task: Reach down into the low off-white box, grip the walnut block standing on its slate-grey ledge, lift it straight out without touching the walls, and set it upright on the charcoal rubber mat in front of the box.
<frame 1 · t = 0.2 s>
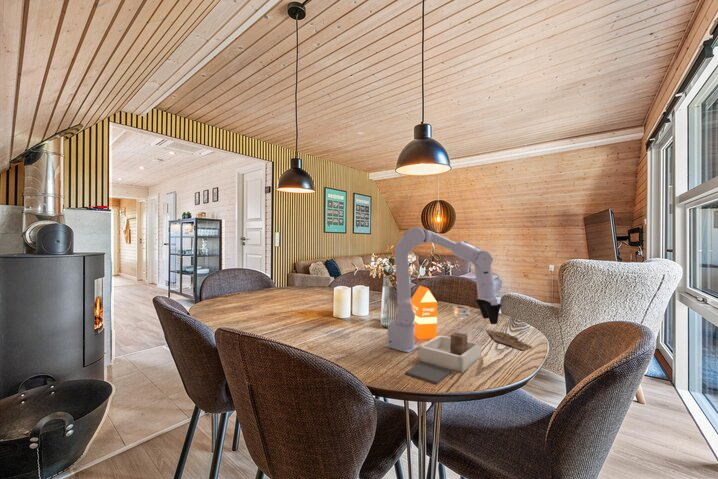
hand: (490, 320, 114), 11 cm above the table, tool pointing down, fingers open, 7 cm apart
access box: (449, 358, 106), on the table
place mat: (428, 373, 94), on the table
wineglass: (461, 336, 131), on the table
walnut block: (458, 353, 104), point 2 cm above the table, touching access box
wooden fragment: (504, 340, 127), on the table
orange juice: (423, 335, 131), on the table
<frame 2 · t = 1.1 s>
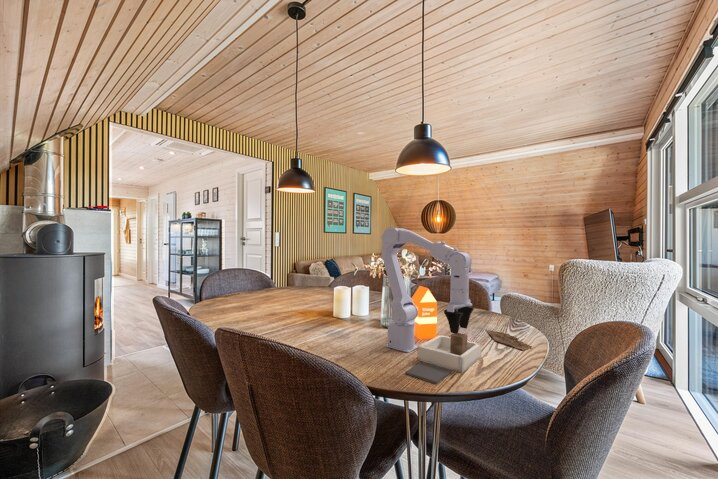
hand: (459, 330, 104), 10 cm above the table, tool pointing down, fingers open, 7 cm apart
nothing on the table moved.
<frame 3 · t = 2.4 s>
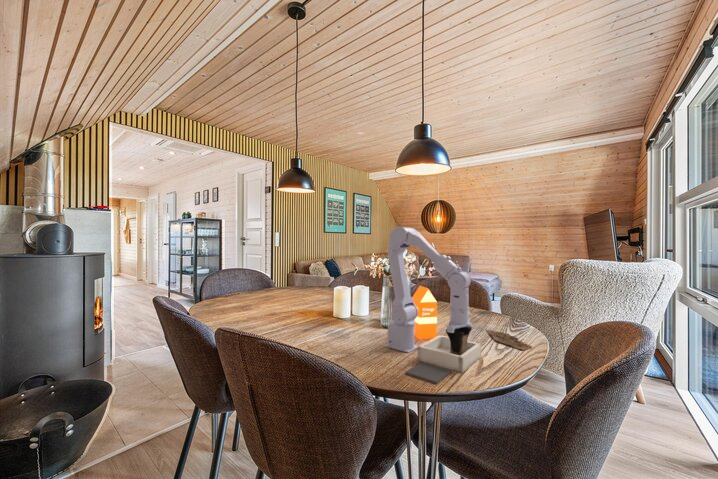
hand: (458, 349, 104), 4 cm above the table, tool pointing down, fingers closed on walnut block, 4 cm apart
walnut block: (458, 353, 104), point 2 cm above the table, touching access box, gripper
everything else where it was.
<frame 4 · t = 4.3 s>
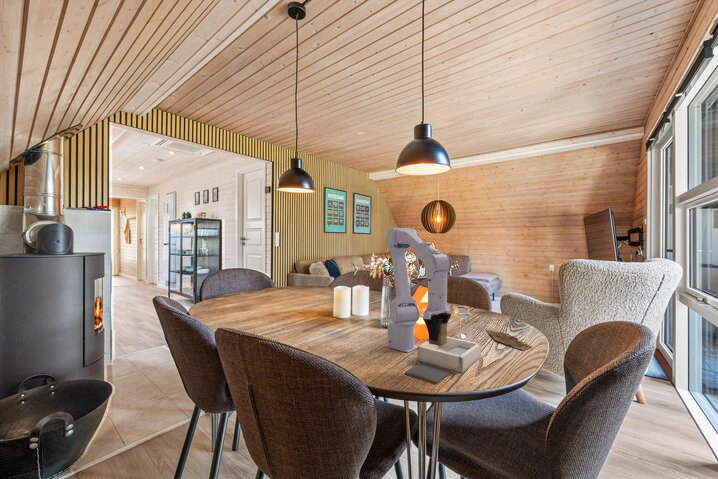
hand: (436, 338, 96), 10 cm above the table, tool pointing down, fingers closed on walnut block, 4 cm apart
walnut block: (437, 343, 96), point 8 cm above the table, touching gripper
everything else where it was.
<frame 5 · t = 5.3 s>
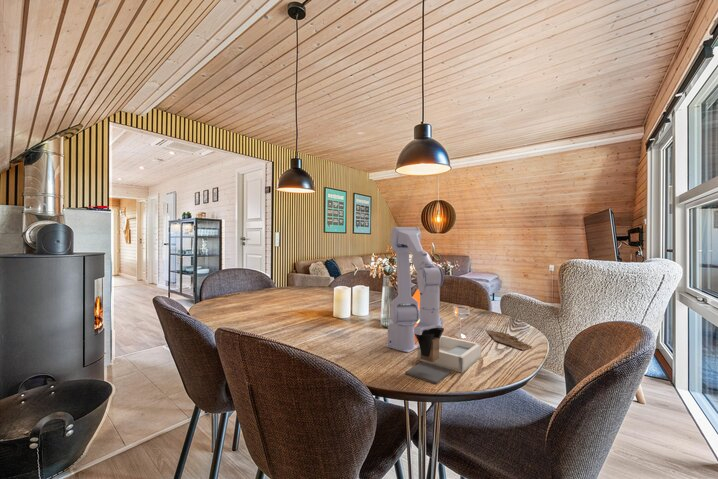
hand: (429, 353, 94), 6 cm above the table, tool pointing down, fingers closed on walnut block, 4 cm apart
walnut block: (429, 358, 94), point 4 cm above the table, touching gripper
everything else where it was.
when the fingers open (3 cm above the table, at t = 6.2 s): walnut block drops 1 cm, resting on place mat.
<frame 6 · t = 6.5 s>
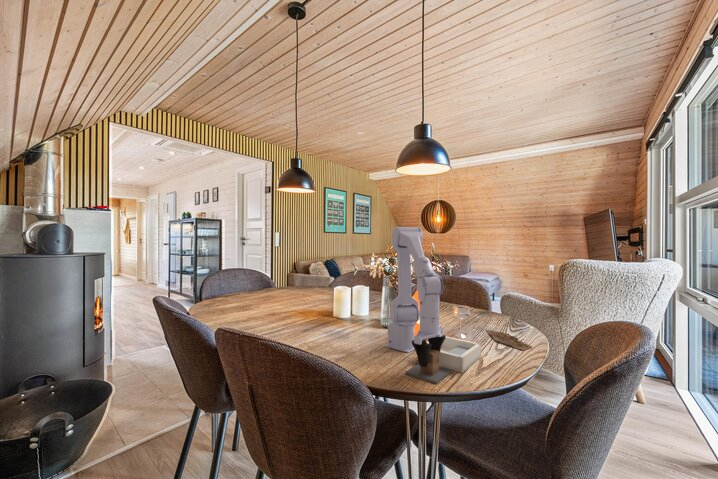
hand: (428, 362, 94), 3 cm above the table, tool pointing down, fingers open, 7 cm apart
walnut block: (429, 371, 94), point 1 cm above the table, touching place mat
everything else where it was.
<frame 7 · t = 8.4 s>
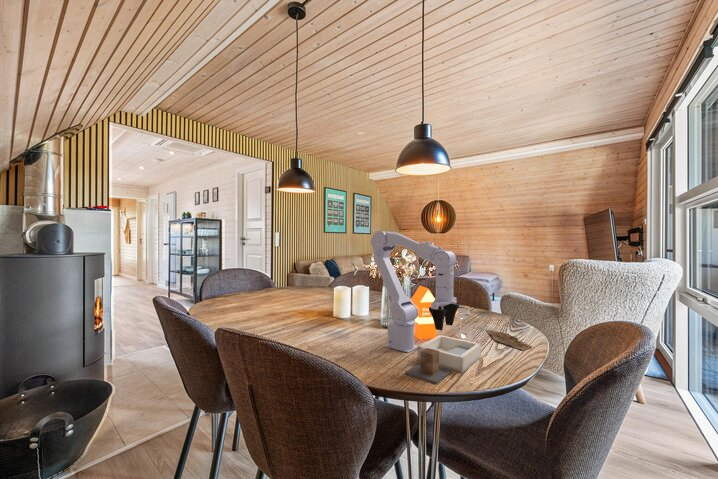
hand: (444, 327, 106), 10 cm above the table, tool pointing down, fingers open, 7 cm apart
nothing on the table moved.
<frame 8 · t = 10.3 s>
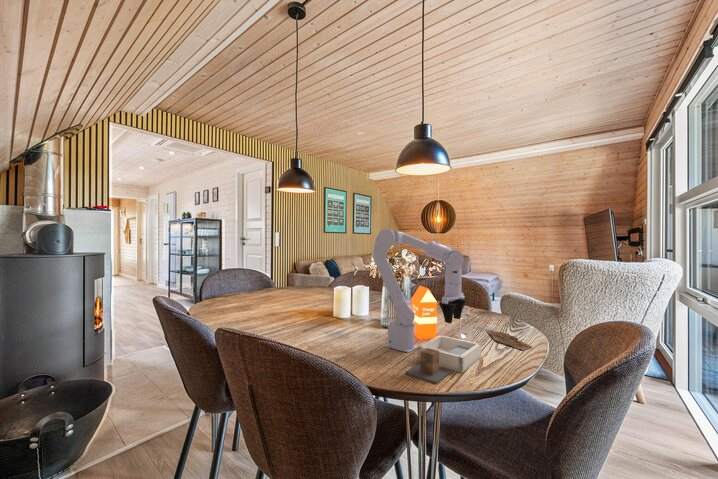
hand: (452, 320, 114), 10 cm above the table, tool pointing down, fingers open, 7 cm apart
nothing on the table moved.
at the end: walnut block 0.3 cm off-centre on the place mat, point 0.6 cm above the place mat's base; walnut block tilted 0°; the gripper is holding nothing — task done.
